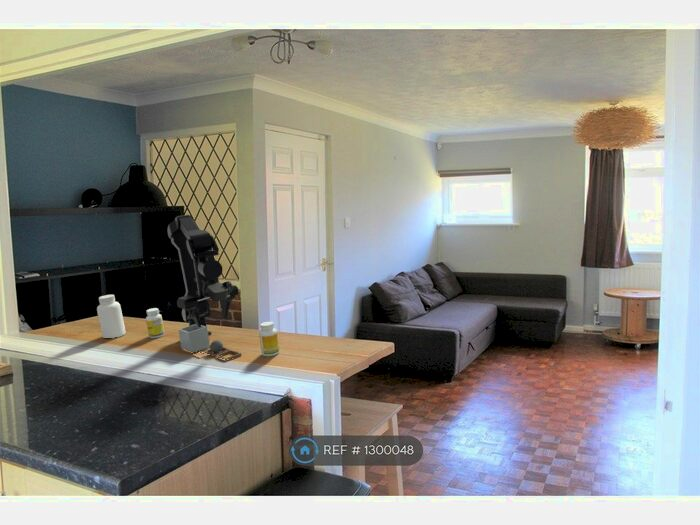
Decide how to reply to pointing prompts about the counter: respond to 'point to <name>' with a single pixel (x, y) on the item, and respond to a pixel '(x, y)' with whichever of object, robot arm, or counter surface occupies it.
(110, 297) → the pill bottle
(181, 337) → the grey open box
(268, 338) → the supplement bottle
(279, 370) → the counter surface
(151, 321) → the supplement bottle
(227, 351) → the holder
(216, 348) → the gray ball
